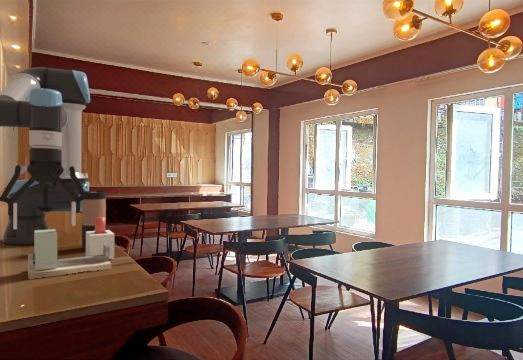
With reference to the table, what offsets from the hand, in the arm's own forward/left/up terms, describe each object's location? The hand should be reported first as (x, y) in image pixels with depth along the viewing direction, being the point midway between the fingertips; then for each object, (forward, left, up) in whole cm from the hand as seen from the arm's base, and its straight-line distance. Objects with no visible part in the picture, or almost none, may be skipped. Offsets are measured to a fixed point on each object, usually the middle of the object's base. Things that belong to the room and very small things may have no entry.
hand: (45, 226), depth 100 cm
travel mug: (-24, +16, -13) cm, 32 cm away
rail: (0, +6, -13) cm, 14 cm away
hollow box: (-10, +16, -13) cm, 23 cm away
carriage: (0, 0, -11) cm, 11 cm away
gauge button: (-10, +16, -5) cm, 19 cm away
